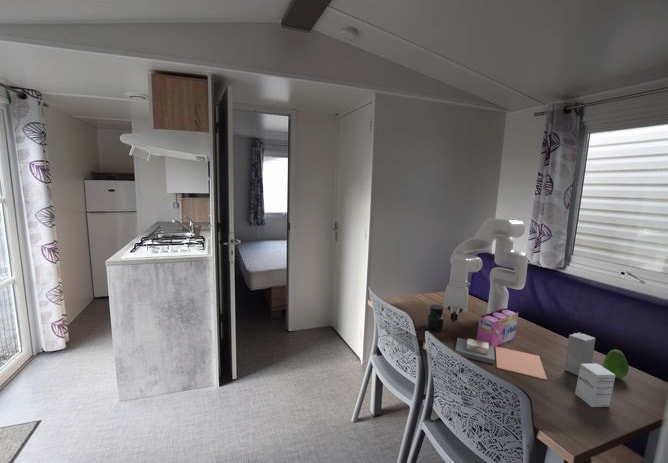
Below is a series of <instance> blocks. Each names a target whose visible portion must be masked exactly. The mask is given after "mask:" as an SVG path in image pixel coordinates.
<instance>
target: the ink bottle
mask: <svg viewBox="0 0 668 463" xmlns="http://www.w3.org/2000/svg"><path fill="white" fill-rule="evenodd" d="M425 323H426V324H425V327H426V329H428V330H429V331H433V332H442V331H443V330H444V326H445V316H444V307H443V306H442V305H440V304H434V303H433V304H430V306H429V312H428V314H427V315H426V322H425Z"/></svg>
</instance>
